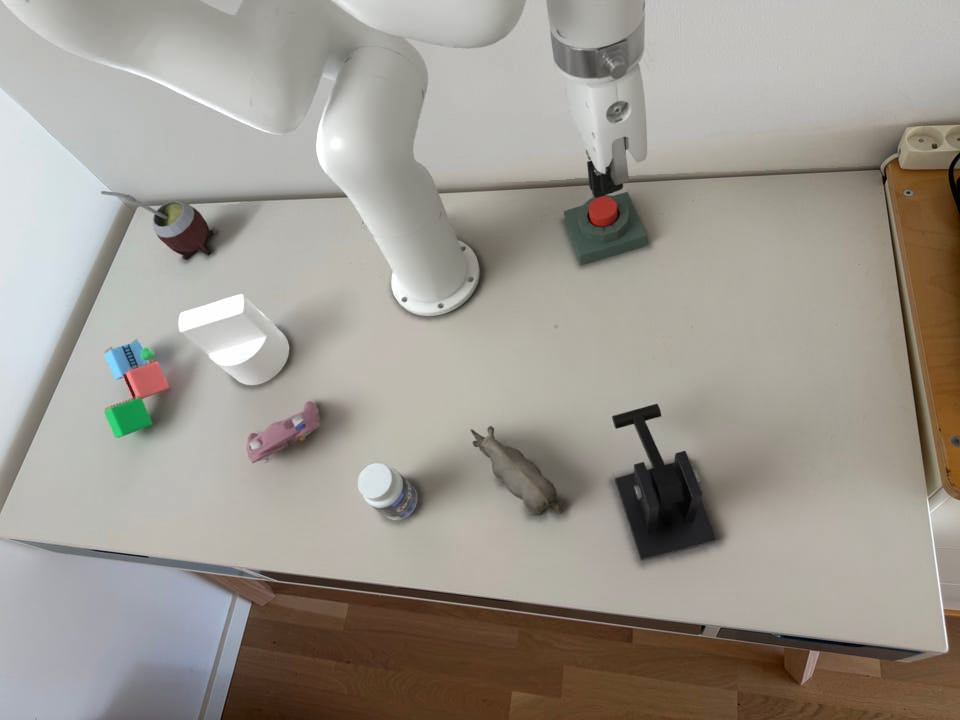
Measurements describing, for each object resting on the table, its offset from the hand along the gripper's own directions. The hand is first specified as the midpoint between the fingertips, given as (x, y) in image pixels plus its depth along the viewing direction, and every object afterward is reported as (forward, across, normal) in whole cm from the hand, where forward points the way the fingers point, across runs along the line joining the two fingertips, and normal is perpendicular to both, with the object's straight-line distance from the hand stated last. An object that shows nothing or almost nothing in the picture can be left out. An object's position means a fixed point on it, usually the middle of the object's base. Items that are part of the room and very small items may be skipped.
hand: (606, 188), depth 69 cm
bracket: (+18, -30, +5) cm, 35 cm away
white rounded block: (+18, +7, +49) cm, 53 cm away
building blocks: (+19, +7, +67) cm, 70 cm away
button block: (+18, +8, -2) cm, 20 cm away
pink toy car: (+18, -7, +46) cm, 50 cm away
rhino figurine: (+18, -21, +19) cm, 34 cm away
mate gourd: (+19, +31, +58) cm, 69 cm away
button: (+14, +8, -2) cm, 16 cm away
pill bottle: (+18, -20, +33) cm, 43 cm away
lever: (+11, -26, +5) cm, 29 cm away
